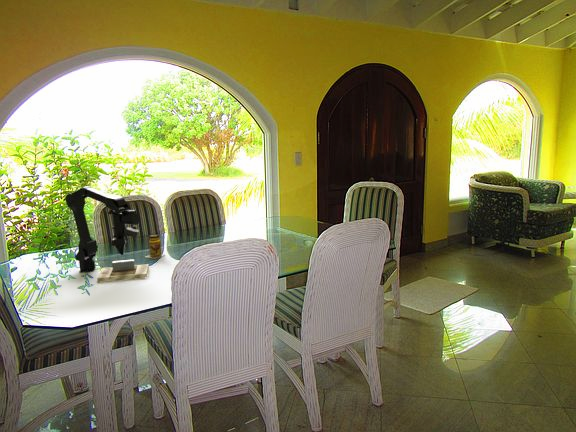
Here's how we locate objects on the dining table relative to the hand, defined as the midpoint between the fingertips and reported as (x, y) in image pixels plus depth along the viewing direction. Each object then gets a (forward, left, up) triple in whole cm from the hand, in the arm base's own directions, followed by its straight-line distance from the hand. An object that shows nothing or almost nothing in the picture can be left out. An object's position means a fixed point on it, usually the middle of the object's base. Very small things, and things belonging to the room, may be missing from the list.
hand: (122, 255), depth 222 cm
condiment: (+13, +27, -10) cm, 32 cm away
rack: (0, 0, -10) cm, 10 cm away
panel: (0, 0, -10) cm, 10 cm away
